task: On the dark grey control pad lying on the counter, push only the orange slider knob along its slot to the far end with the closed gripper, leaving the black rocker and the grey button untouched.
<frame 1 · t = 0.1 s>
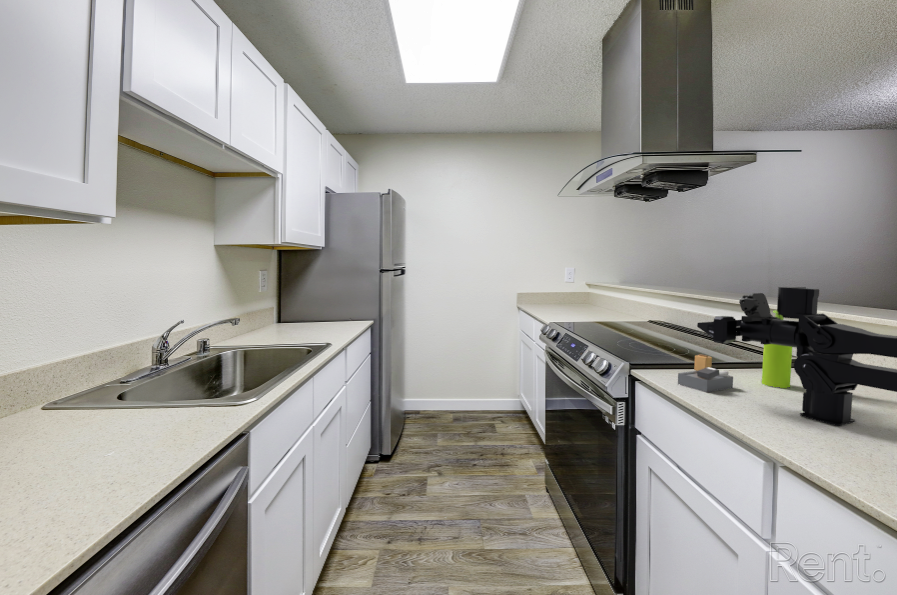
hand: (709, 323, 106), 17 cm above the countertop, tool horizontal, fingers open, 9 cm apart
soap dispenser: (776, 386, 108), on the countertop
screw: (831, 393, 102), on the countertop
orange slider: (703, 362, 110), point 5 cm above the countertop, slide at 0.0 cm
rocker: (708, 372, 104), point 4 cm above the countertop, hinge at -10.0°
panel: (704, 385, 107), on the countertop
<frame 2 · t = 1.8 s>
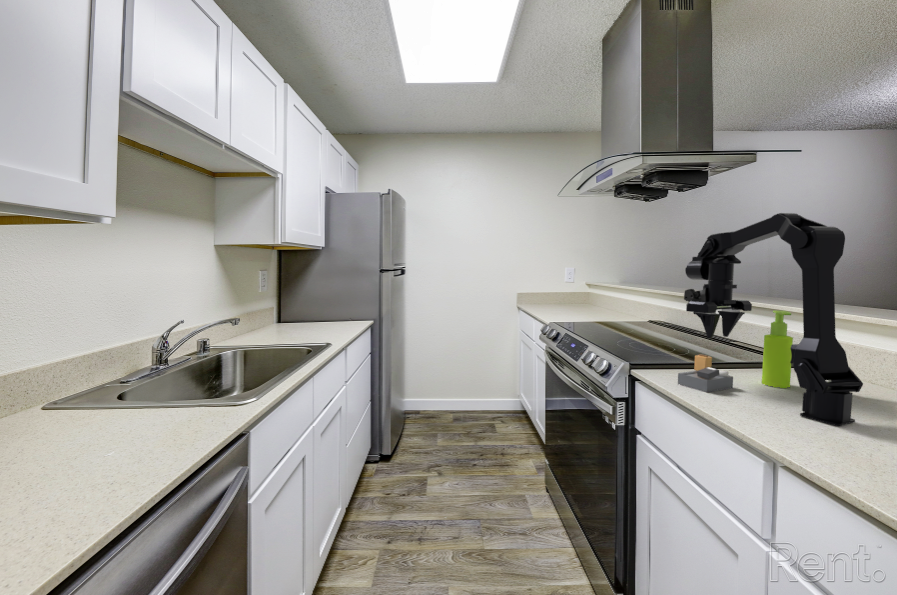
hand: (717, 337, 112), 12 cm above the countertop, tool pointing down, fingers open, 6 cm apart
nothing on the countertop moved.
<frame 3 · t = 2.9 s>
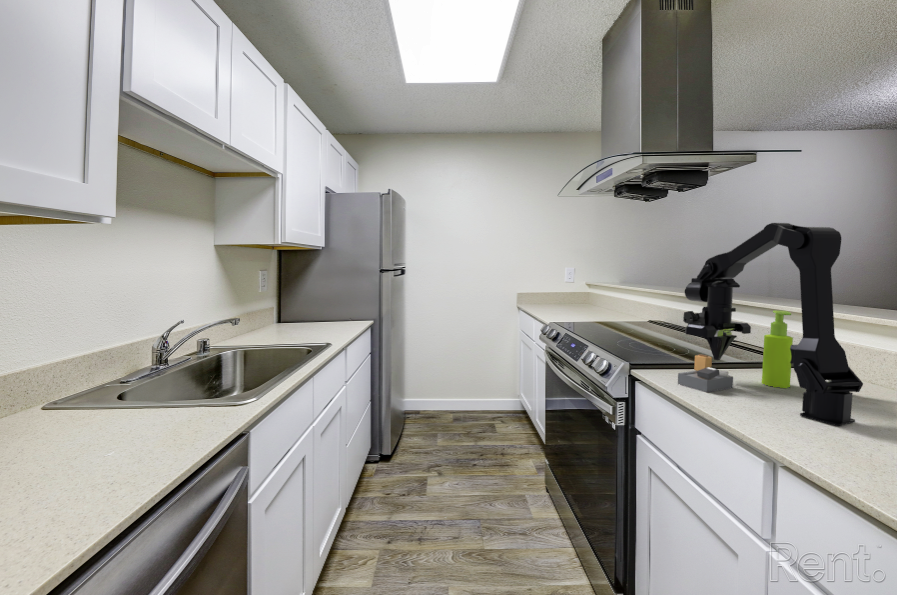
hand: (716, 359, 112), 6 cm above the countertop, tool pointing down, fingers closed
nothing on the countertop moved.
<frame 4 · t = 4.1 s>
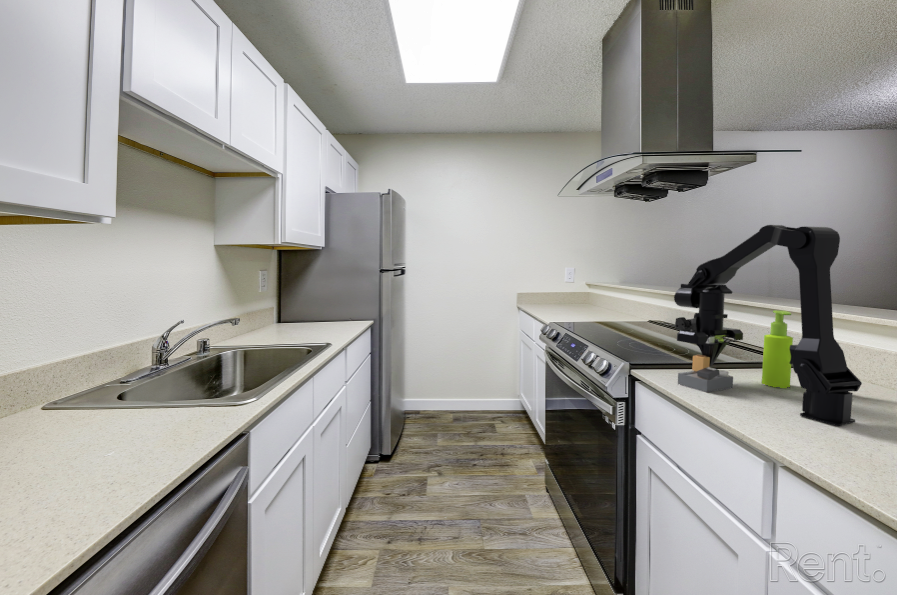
hand: (708, 366, 111), 4 cm above the countertop, tool pointing down, fingers closed
orange slider: (700, 363, 110), point 5 cm above the countertop, slide at 0.8 cm, touching gripper
everything else where it was.
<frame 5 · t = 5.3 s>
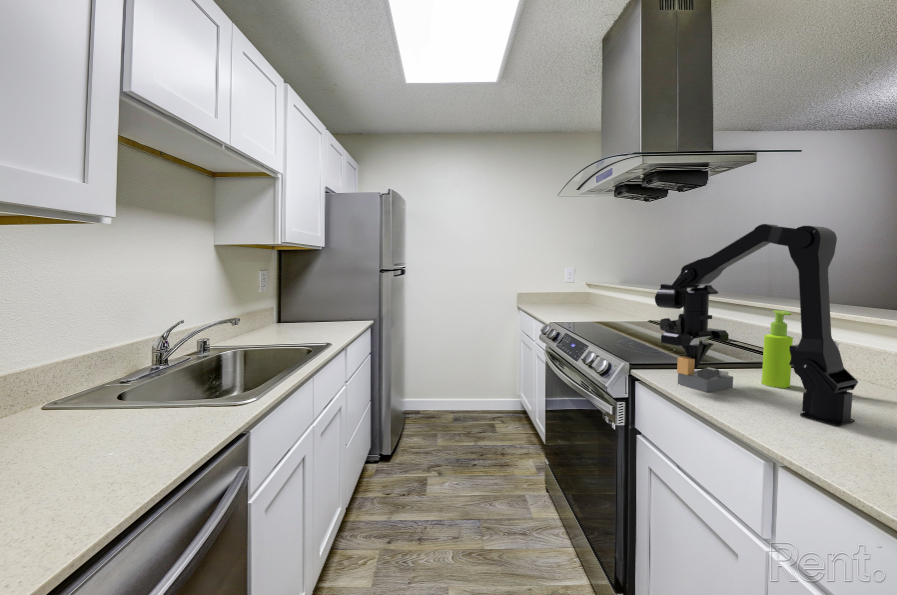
hand: (693, 368, 109), 4 cm above the countertop, tool pointing down, fingers closed
orange slider: (685, 365, 108), point 5 cm above the countertop, slide at 6.6 cm, touching gripper
everything else where it was.
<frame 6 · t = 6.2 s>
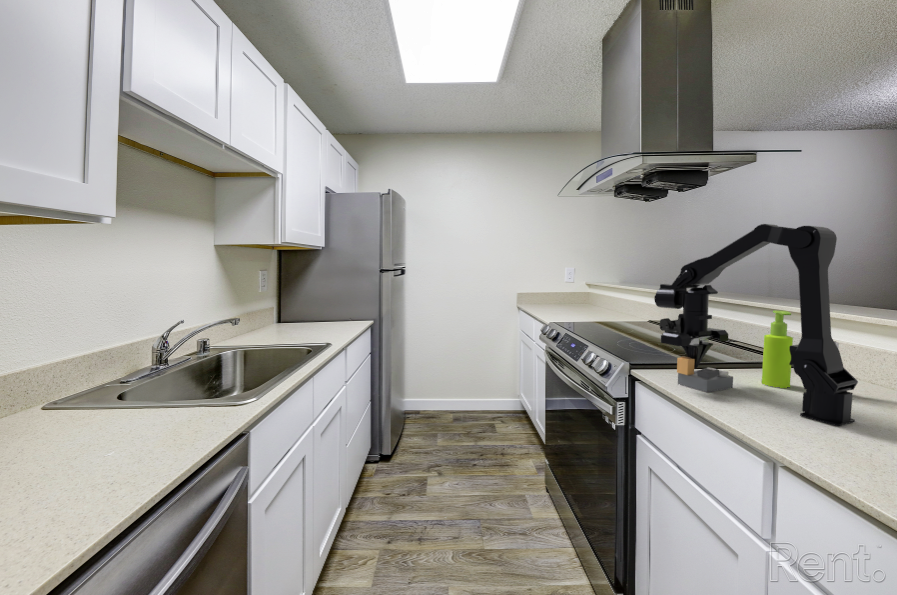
hand: (693, 368, 109), 4 cm above the countertop, tool pointing down, fingers closed
nothing on the countertop moved.
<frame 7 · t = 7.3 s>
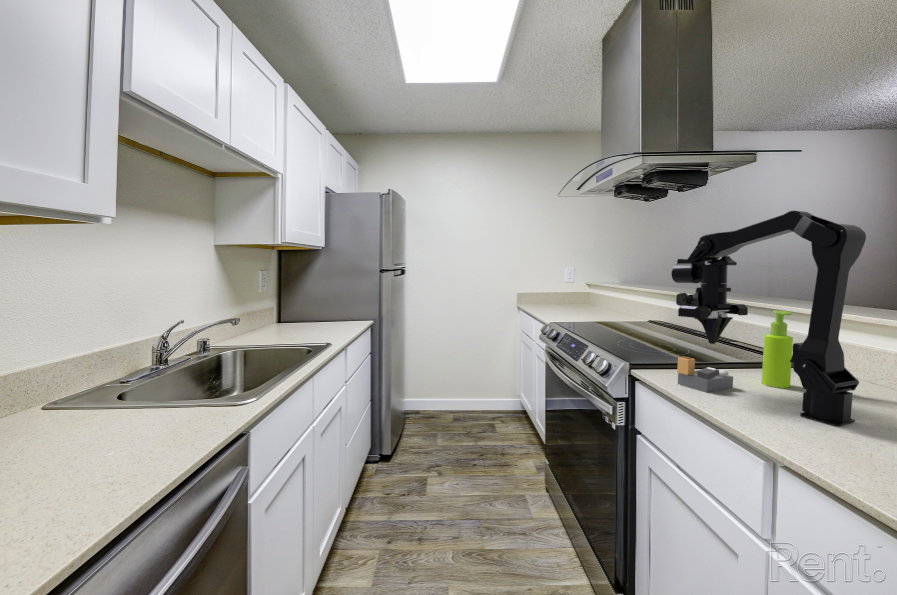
hand: (712, 343, 105), 11 cm above the countertop, tool pointing down, fingers closed
orange slider: (686, 365, 108), point 5 cm above the countertop, slide at 6.6 cm
everything else where it was.
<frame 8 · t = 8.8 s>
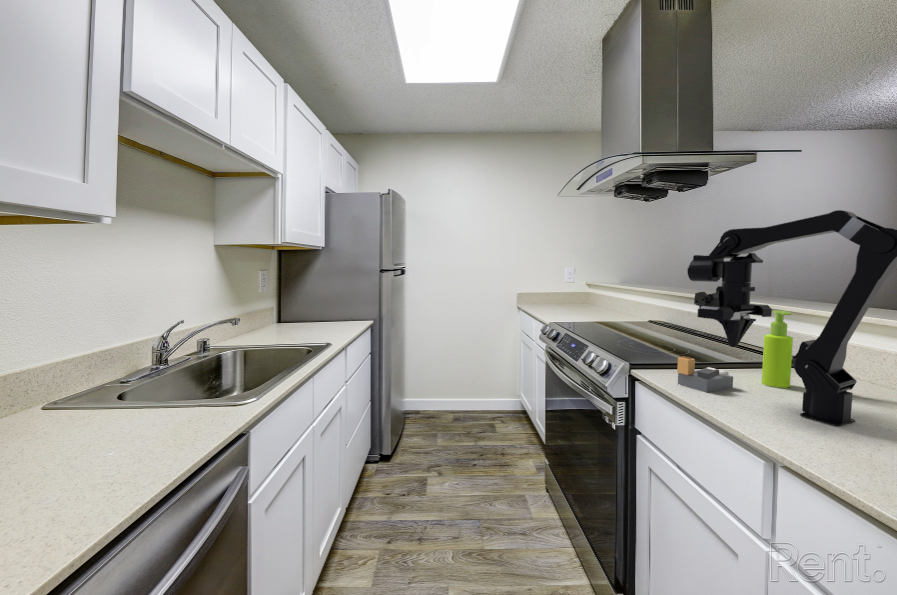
hand: (733, 346, 98), 12 cm above the countertop, tool pointing down, fingers closed
nothing on the countertop moved.
at the end: orange slider slide at 6.6 cm; rocker at -10° (first picture: -10°) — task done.
